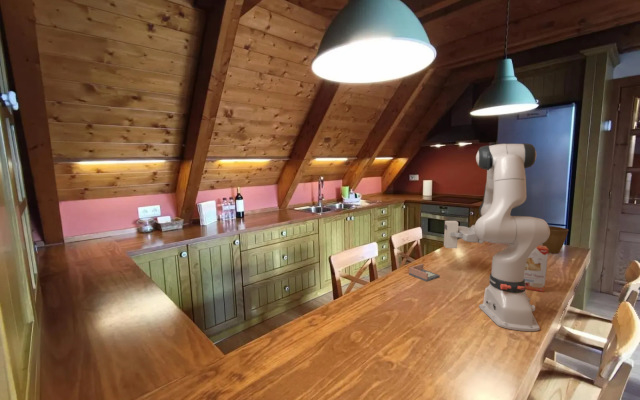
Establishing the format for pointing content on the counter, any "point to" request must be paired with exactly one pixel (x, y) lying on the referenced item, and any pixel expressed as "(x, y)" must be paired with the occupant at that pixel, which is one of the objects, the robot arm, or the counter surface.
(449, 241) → the painted block
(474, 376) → the counter surface
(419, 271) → the corner arena
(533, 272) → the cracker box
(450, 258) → the counter surface
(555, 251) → the plant pot
